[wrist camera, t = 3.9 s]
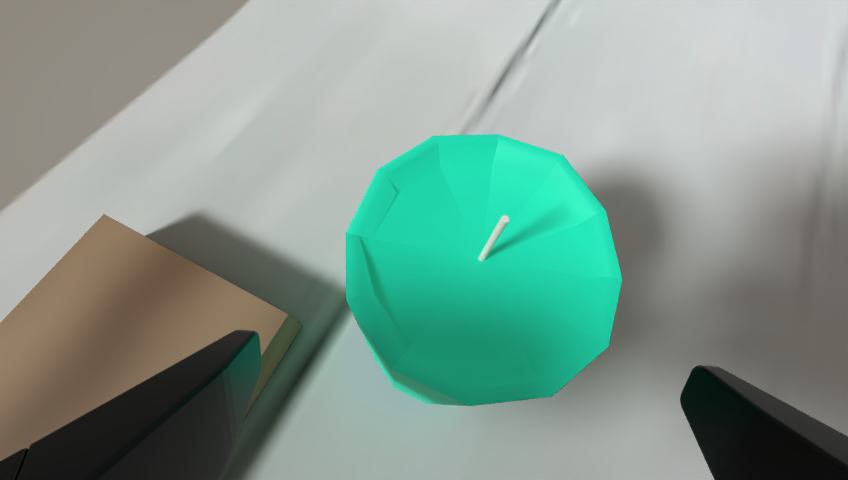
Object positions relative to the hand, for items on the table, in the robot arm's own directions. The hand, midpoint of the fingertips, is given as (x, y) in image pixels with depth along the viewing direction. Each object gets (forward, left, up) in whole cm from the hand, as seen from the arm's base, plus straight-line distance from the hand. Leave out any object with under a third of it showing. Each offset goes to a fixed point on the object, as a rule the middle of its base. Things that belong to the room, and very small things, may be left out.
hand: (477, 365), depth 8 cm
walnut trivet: (+11, +5, -10) cm, 15 cm away
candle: (+1, -2, -10) cm, 10 cm away
